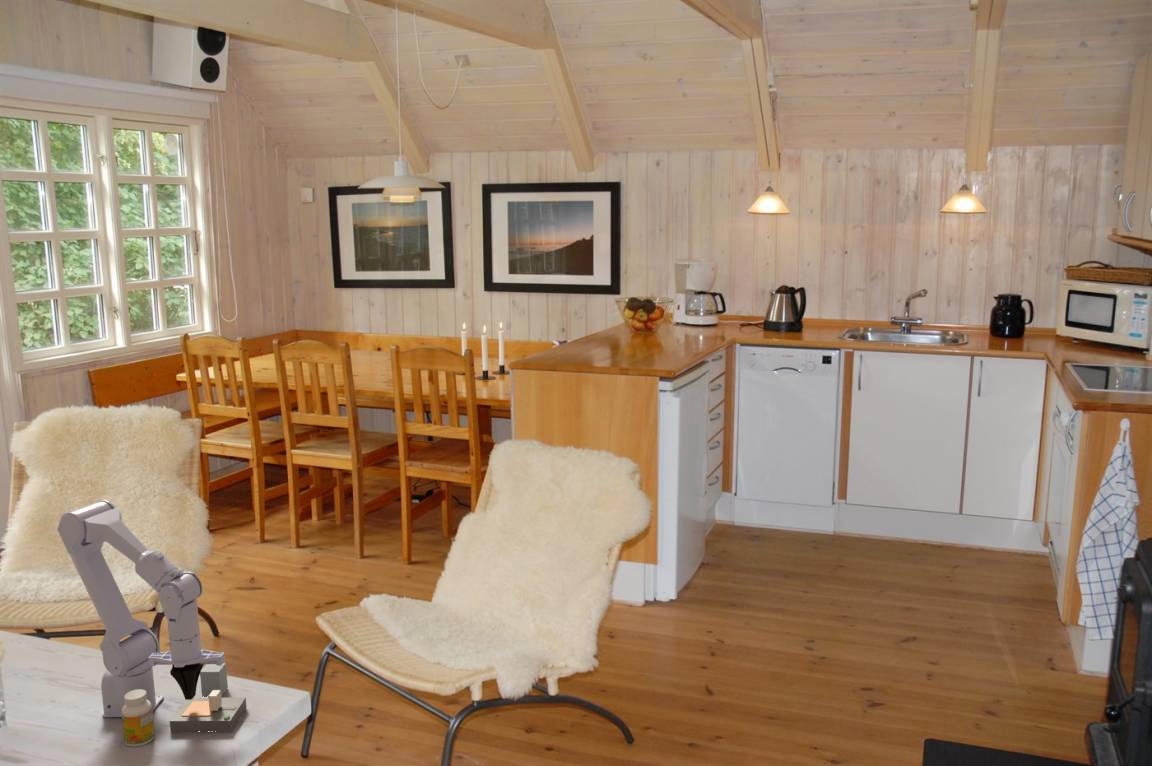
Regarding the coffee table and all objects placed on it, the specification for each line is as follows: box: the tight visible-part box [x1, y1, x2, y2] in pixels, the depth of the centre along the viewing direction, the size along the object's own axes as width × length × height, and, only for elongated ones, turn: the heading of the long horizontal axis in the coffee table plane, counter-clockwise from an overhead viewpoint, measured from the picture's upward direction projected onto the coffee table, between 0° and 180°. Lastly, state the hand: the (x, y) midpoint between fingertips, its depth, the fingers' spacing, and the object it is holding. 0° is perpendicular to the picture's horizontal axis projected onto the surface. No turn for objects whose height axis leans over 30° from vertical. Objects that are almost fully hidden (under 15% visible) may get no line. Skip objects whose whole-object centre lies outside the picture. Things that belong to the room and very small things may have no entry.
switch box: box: [169, 697, 247, 733], centre depth 194 cm, size 12×9×3 cm
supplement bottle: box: [121, 689, 156, 748], centre depth 186 cm, size 5×5×10 cm
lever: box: [208, 690, 222, 711], centre depth 193 cm, size 2×2×3 cm
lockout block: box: [199, 662, 229, 698], centre depth 204 cm, size 4×4×6 cm
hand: (190, 697), depth 193 cm, fingers closed
